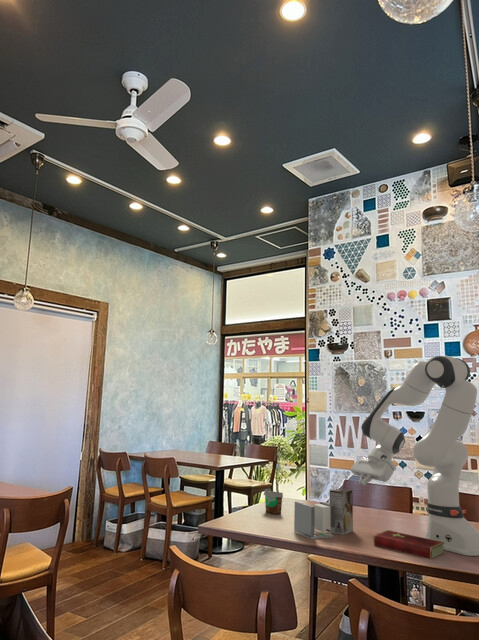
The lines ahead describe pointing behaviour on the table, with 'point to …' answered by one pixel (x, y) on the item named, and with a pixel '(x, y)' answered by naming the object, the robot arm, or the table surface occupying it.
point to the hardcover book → (409, 544)
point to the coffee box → (342, 510)
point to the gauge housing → (307, 522)
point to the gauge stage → (324, 516)
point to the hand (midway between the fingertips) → (361, 484)
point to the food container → (273, 502)
